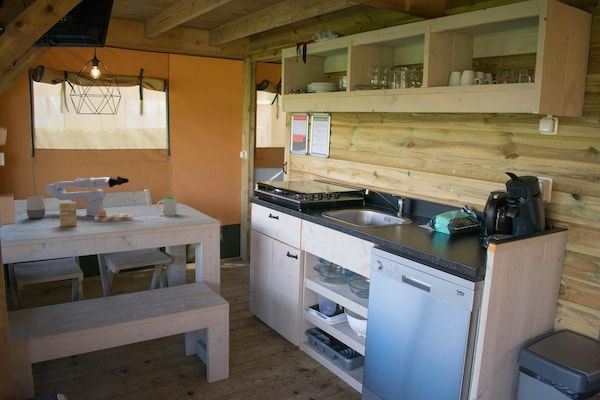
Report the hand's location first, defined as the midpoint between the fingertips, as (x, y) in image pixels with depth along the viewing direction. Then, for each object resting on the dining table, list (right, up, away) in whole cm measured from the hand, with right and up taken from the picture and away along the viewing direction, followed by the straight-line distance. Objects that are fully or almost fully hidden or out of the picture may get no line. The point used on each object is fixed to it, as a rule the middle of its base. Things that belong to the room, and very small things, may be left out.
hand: (125, 181), depth 293 cm
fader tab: (-10, -21, -9) cm, 25 cm away
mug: (+22, -21, +12) cm, 33 cm away
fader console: (-5, -23, -6) cm, 24 cm away
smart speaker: (-50, -22, -8) cm, 55 cm away
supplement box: (-22, -26, -25) cm, 42 cm away
